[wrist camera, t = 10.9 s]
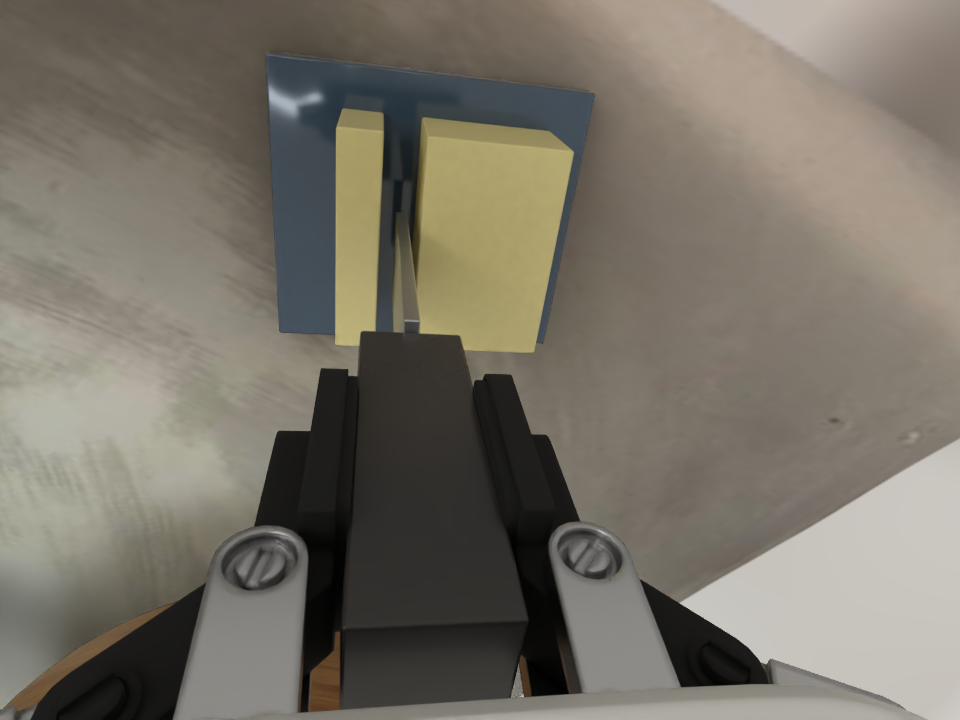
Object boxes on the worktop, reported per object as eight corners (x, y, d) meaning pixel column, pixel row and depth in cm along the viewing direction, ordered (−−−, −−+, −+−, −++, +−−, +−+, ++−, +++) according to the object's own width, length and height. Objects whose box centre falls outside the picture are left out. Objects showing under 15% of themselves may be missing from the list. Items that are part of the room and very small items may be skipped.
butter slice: (342, 107, 22) (335, 126, 19) (383, 112, 22) (384, 131, 19) (340, 305, 26) (335, 345, 23) (375, 307, 26) (374, 347, 23)
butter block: (421, 116, 22) (427, 135, 19) (550, 131, 23) (574, 151, 20) (407, 308, 26) (411, 349, 23) (517, 314, 27) (534, 353, 24)
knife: (368, 209, 22) (339, 613, 7) (434, 214, 22) (535, 604, 8) (365, 286, 23) (338, 751, 9) (427, 289, 24) (502, 739, 9)
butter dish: (269, 49, 21) (264, 52, 21) (588, 89, 24) (595, 93, 23) (282, 322, 27) (279, 333, 26) (539, 334, 29) (543, 344, 28)
